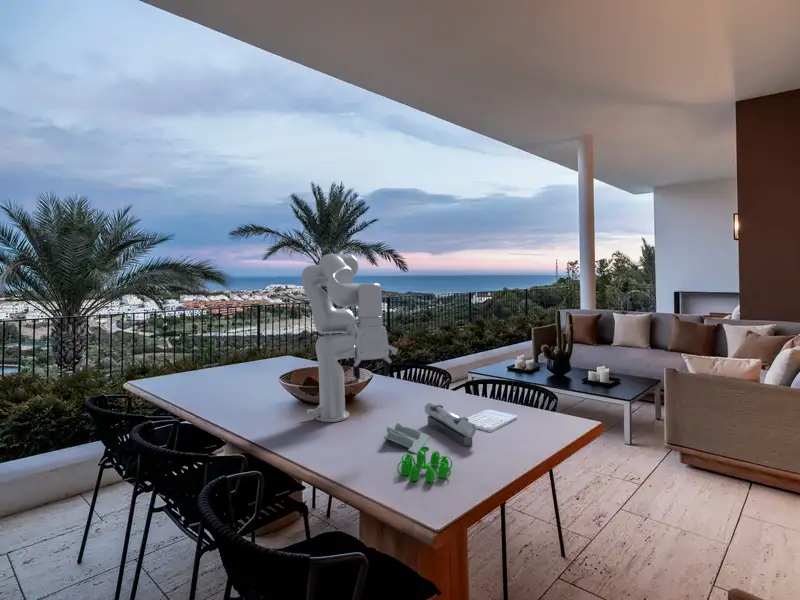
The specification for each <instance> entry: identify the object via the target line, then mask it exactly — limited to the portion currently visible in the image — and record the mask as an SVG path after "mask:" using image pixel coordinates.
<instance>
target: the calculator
mask: <svg viewBox="0 0 800 600" xmlns="http://www.w3.org/2000/svg"><path fill="white" fill-rule="evenodd" d="M466 418H467V419H468V422H470V423H472V424H474V425H475V427H476V430H479V429H480V430H479V431H483V432H487V431H488V433H492V432H495V431H496V430H499V429H500V428H502V427H504V426H506V425H508V424H510V423H512V422H514V421H516V420H518V419H517V418H519V417H518V415H517V414H514V413H509V412H505V411H504V412H503V411H501V410H494V409H491V408H490V409H488V408H487V409H484V410H481V411H480V412H477V413H475V414H473V415H470V416H468V417H466ZM515 419H516V420H515ZM513 420H514V421H513ZM511 421H512V422H511ZM509 422H510V423H509ZM505 424H506V425H505ZM503 425H504V426H503ZM501 426H502V427H501Z"/></svg>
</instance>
